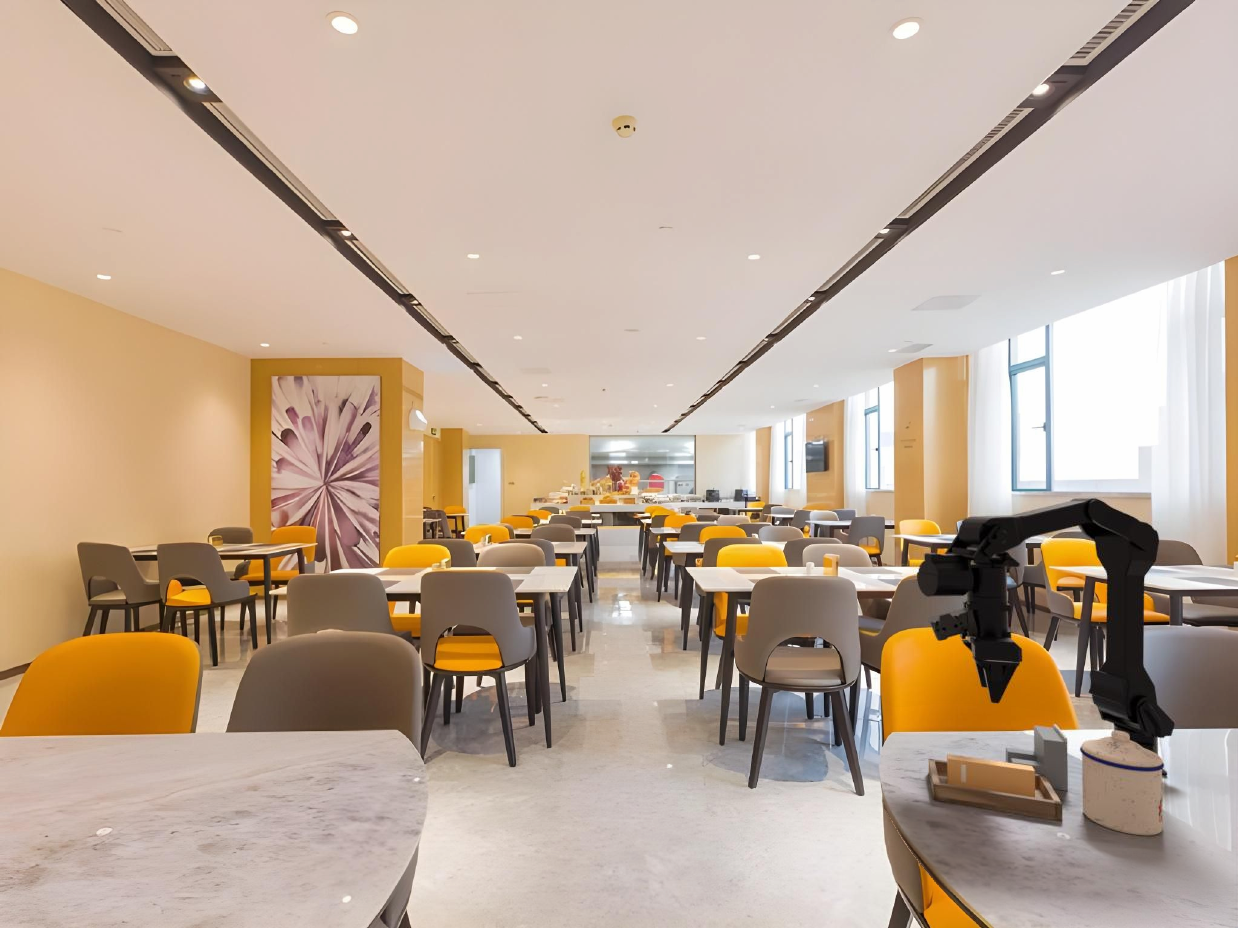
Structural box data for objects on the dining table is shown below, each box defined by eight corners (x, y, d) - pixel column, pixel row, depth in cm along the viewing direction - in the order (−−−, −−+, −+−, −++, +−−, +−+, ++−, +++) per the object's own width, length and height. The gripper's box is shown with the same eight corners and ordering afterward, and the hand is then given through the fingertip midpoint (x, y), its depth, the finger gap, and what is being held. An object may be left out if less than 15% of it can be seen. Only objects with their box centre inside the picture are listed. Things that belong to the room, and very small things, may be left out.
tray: (928, 772, 106) (928, 758, 106) (1044, 790, 101) (1044, 774, 101) (933, 799, 96) (933, 783, 97) (1062, 820, 91) (1062, 803, 91)
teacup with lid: (1182, 840, 86) (1180, 746, 87) (1103, 833, 88) (1102, 741, 88) (1126, 799, 98) (1124, 717, 99) (1057, 794, 99) (1056, 712, 100)
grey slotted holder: (1005, 766, 110) (1005, 718, 110) (1056, 773, 107) (1055, 724, 108) (1013, 782, 103) (1013, 731, 104) (1067, 790, 101) (1067, 738, 101)
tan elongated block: (947, 781, 102) (947, 753, 102) (1032, 794, 98) (1031, 765, 98) (948, 786, 100) (948, 758, 100) (1035, 800, 96) (1034, 770, 96)
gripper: (926, 586, 121) (929, 675, 120) (937, 601, 103) (939, 706, 102) (997, 588, 117) (1000, 681, 116) (1021, 604, 99) (1024, 714, 99)
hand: (989, 694), depth 108 cm, fingers open, 9 cm apart
